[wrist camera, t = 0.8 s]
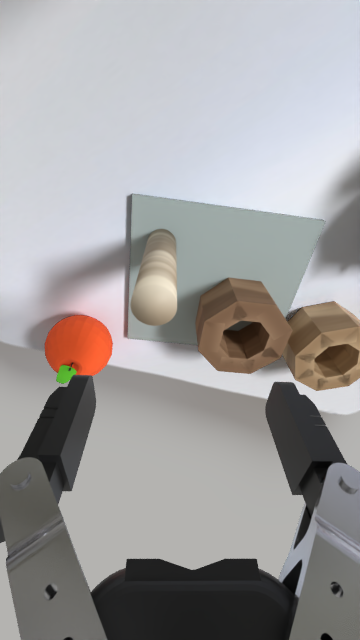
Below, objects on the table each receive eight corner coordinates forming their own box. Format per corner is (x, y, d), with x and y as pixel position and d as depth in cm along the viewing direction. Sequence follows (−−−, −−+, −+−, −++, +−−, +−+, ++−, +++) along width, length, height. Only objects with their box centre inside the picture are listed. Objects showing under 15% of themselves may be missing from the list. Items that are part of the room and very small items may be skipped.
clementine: (98, 363, 36) (83, 408, 30) (46, 340, 33) (18, 383, 27) (128, 322, 32) (117, 363, 26) (72, 292, 30) (46, 330, 24)
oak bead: (279, 311, 32) (295, 337, 27) (357, 296, 31) (386, 321, 26) (280, 365, 36) (294, 394, 32) (348, 353, 35) (371, 382, 31)
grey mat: (133, 193, 24) (132, 194, 24) (322, 219, 26) (325, 221, 25) (128, 335, 33) (127, 338, 33) (270, 349, 35) (271, 352, 34)
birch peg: (148, 226, 25) (131, 282, 15) (178, 230, 26) (180, 288, 16) (146, 255, 27) (129, 323, 17) (174, 258, 27) (174, 327, 17)
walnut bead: (204, 274, 28) (209, 297, 24) (284, 283, 29) (302, 308, 25) (191, 339, 33) (194, 368, 29) (260, 346, 34) (272, 375, 29)
